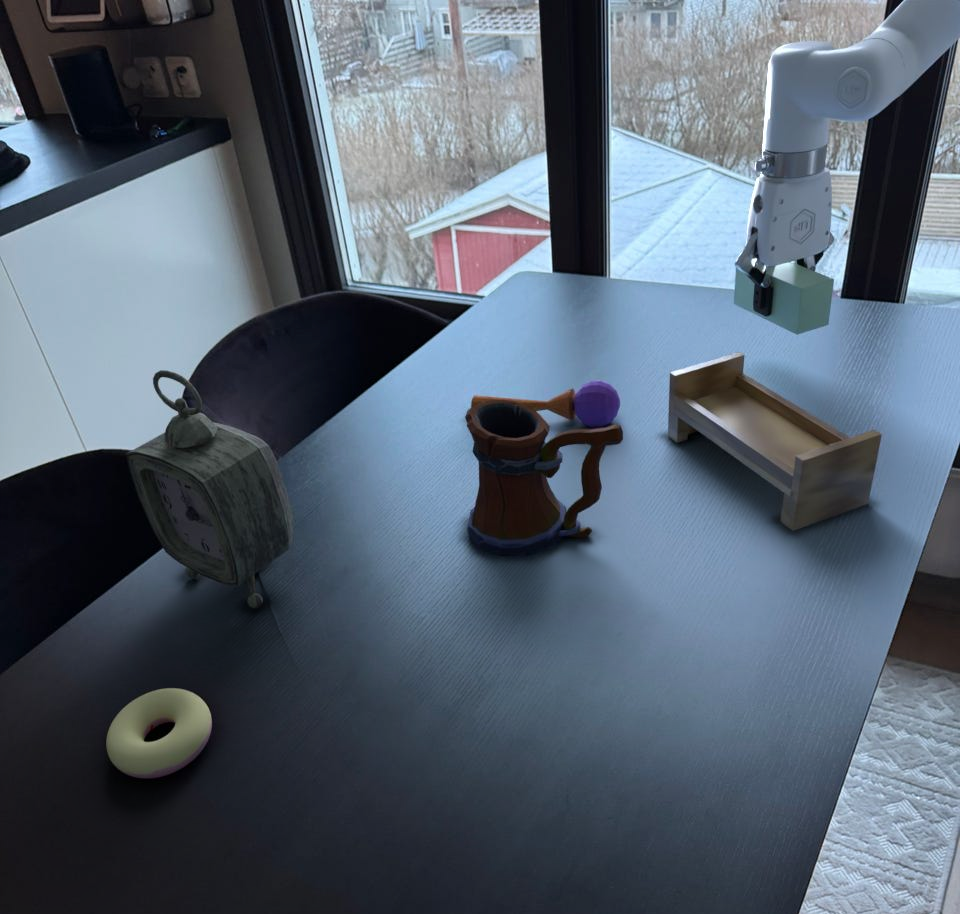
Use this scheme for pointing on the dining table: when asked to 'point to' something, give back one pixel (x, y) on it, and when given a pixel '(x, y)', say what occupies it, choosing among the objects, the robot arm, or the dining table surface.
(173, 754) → the donut
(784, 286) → the bar
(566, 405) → the purple ball wooden maraca
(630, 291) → the dining table surface
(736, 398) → the rack
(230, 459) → the tabletop clock
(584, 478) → the mug
